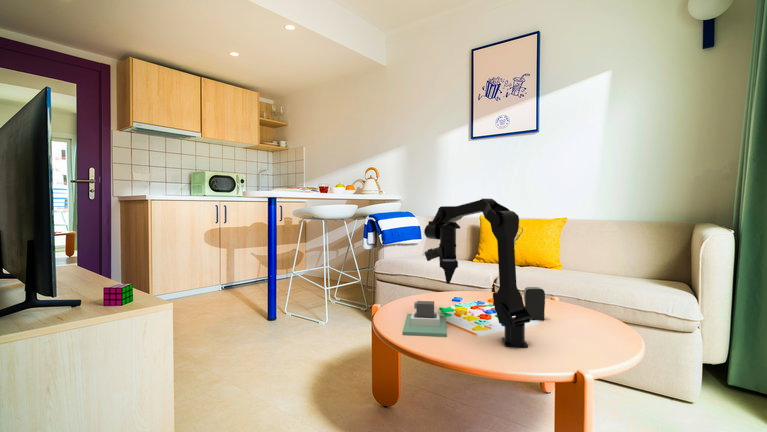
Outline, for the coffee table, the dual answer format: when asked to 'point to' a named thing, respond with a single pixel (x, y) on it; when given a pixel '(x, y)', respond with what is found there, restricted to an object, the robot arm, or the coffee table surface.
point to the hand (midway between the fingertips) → (448, 283)
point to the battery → (535, 302)
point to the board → (425, 325)
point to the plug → (424, 309)
